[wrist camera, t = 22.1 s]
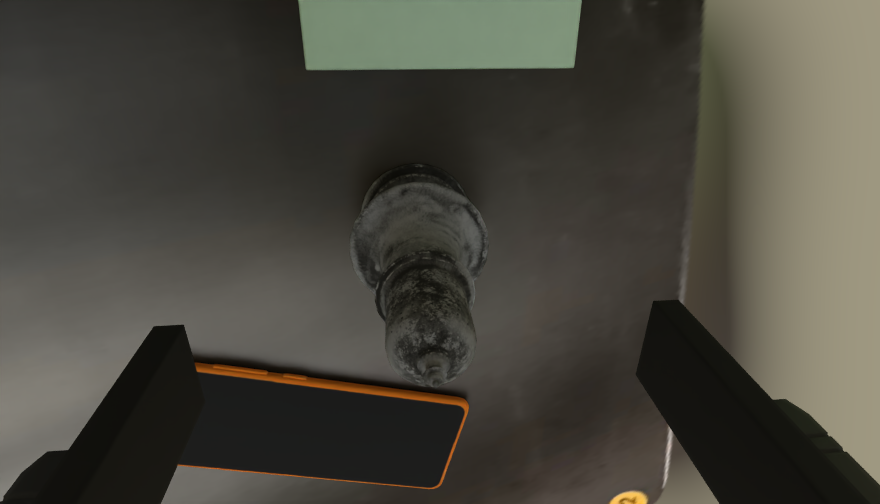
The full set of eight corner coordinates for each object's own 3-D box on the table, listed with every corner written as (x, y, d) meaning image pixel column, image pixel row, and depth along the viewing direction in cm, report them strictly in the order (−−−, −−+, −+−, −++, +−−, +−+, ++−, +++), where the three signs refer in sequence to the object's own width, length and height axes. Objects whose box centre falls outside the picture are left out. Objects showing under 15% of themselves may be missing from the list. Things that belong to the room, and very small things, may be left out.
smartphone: (439, 481, 33) (440, 493, 32) (165, 453, 30) (159, 465, 29) (471, 393, 30) (473, 404, 29) (168, 352, 26) (161, 362, 26)
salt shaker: (490, 171, 24) (572, 312, 13) (459, 278, 26) (507, 471, 15) (365, 145, 23) (343, 276, 12) (345, 259, 25) (313, 452, 14)
